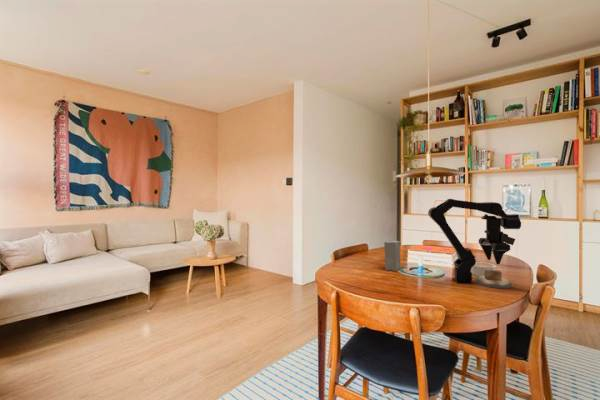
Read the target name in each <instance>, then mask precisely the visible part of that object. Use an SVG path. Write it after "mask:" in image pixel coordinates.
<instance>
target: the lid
mask: <svg viewBox="0 0 600 400" xmlns="http://www.w3.org/2000/svg"><path fill="white" fill-rule="evenodd" d="M502 273H503V272H502V271H501V270H498V269H497V270H485V276H477V277H476V278H477V281H479V282H481V283H484V284H488V285H495V286H507V285H510V282H511V281H510V280H509V279H507V278H505V277H502V276H503V274H502Z"/></svg>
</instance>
